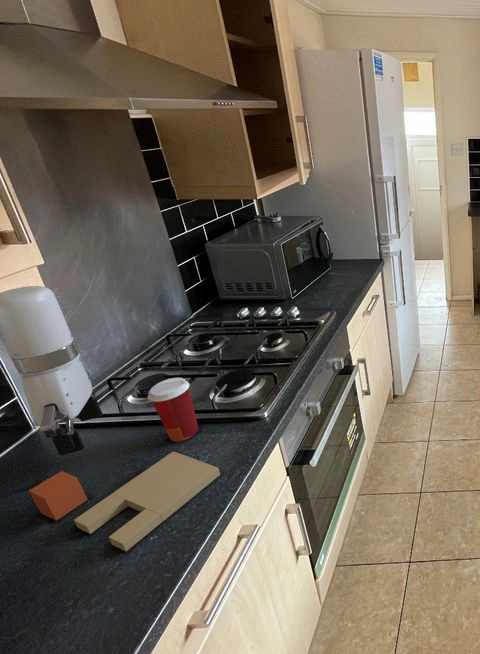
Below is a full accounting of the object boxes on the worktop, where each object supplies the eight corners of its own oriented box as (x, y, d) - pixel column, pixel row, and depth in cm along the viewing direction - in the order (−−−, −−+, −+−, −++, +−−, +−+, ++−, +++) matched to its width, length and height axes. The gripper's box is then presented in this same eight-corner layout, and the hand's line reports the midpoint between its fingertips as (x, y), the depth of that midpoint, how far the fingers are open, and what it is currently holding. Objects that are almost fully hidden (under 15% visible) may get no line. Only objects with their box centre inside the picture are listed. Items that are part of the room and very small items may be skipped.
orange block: (56, 521, 80) (43, 498, 78) (40, 513, 82) (28, 490, 79) (88, 499, 84) (77, 477, 82) (72, 492, 86) (61, 470, 84)
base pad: (126, 551, 75) (122, 544, 74) (77, 527, 79) (73, 520, 78) (220, 474, 90) (218, 467, 90) (175, 457, 95) (173, 451, 94)
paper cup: (203, 418, 107) (188, 372, 102) (204, 435, 101) (188, 388, 96) (164, 431, 103) (146, 384, 97) (163, 450, 97) (144, 401, 92)
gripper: (40, 338, 77) (74, 412, 84) (-12, 390, 63) (33, 474, 69) (93, 329, 81) (122, 401, 87) (55, 376, 67) (93, 458, 73)
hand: (82, 434), depth 78 cm, fingers open, 9 cm apart
